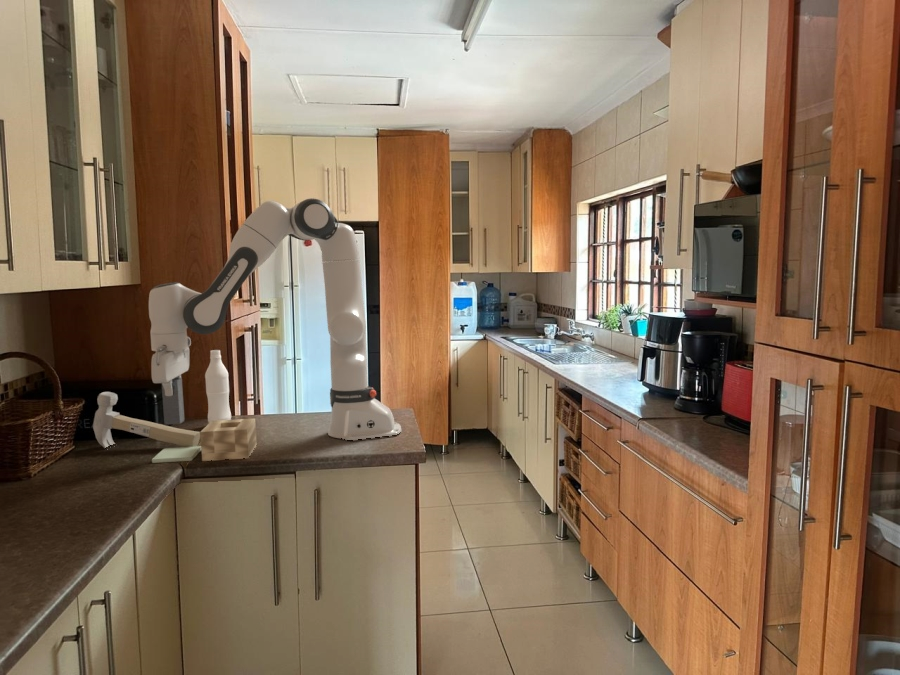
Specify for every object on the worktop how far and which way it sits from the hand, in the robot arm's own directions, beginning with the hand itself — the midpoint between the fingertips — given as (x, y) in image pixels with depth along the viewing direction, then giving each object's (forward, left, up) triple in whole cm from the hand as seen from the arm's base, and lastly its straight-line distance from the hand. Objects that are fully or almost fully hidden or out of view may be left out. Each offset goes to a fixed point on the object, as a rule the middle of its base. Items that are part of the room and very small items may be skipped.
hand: (172, 393), depth 162 cm
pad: (0, 0, -18) cm, 18 cm away
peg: (0, 0, -8) cm, 8 cm away
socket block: (-14, 0, -18) cm, 23 cm away
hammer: (+11, -10, -18) cm, 23 cm away
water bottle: (-4, -31, -18) cm, 36 cm away
